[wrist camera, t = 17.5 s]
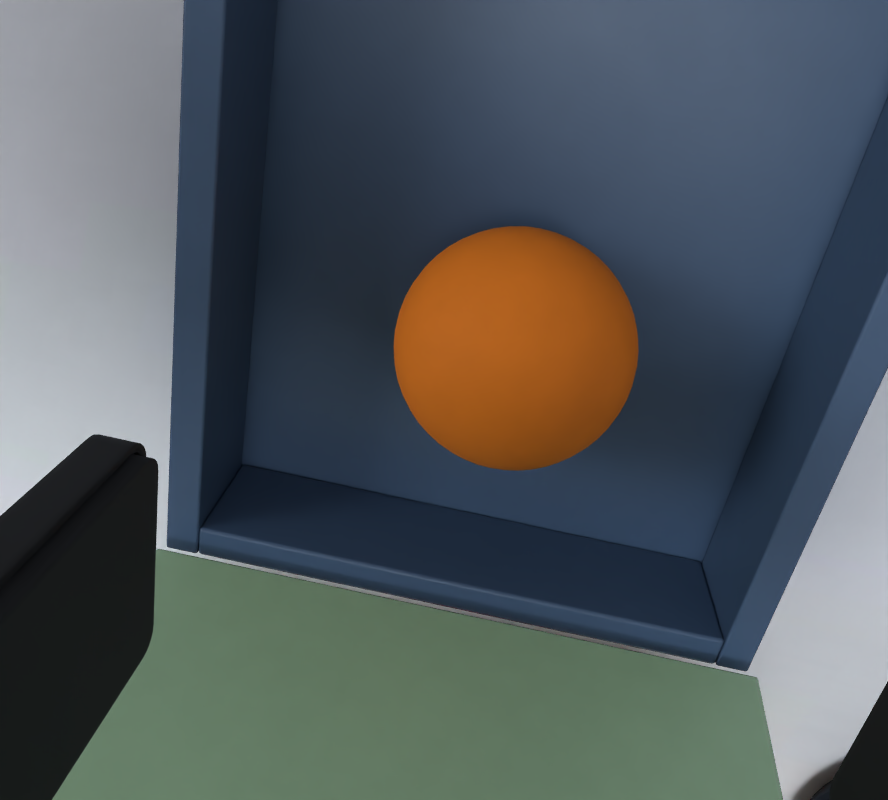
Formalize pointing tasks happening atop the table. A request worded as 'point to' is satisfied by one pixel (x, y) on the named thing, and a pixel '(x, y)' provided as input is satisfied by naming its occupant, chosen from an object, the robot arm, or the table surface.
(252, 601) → the lid
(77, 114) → the table surface
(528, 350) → the clementine
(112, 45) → the table surface
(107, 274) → the table surface
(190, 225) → the blue shallow tray
